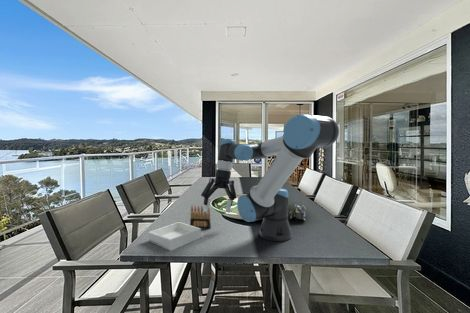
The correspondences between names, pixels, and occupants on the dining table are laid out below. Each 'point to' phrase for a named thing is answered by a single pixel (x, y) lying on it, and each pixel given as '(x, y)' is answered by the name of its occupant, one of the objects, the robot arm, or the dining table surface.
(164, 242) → the tray
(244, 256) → the dining table surface
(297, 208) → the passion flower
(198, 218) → the ammunition clip
